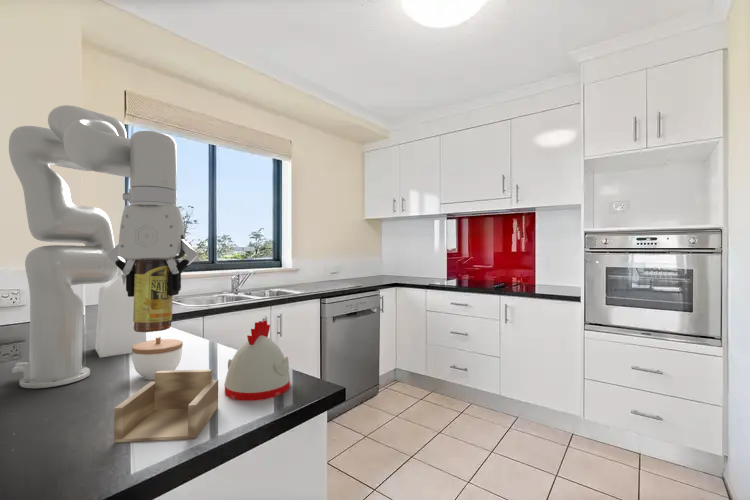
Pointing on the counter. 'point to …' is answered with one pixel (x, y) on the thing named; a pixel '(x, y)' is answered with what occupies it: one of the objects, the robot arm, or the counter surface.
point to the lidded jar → (156, 356)
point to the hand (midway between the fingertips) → (154, 294)
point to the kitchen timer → (257, 368)
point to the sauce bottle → (152, 296)
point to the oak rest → (168, 407)
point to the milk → (116, 319)
